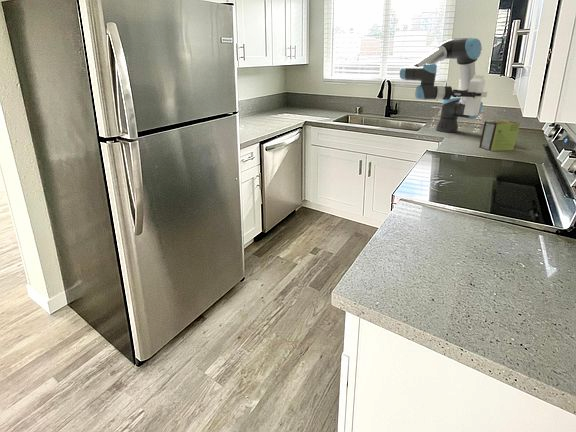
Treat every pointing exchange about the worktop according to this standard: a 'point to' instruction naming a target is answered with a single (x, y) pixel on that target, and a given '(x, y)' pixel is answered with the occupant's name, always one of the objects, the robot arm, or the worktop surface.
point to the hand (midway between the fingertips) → (483, 93)
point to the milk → (474, 103)
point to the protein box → (499, 135)
